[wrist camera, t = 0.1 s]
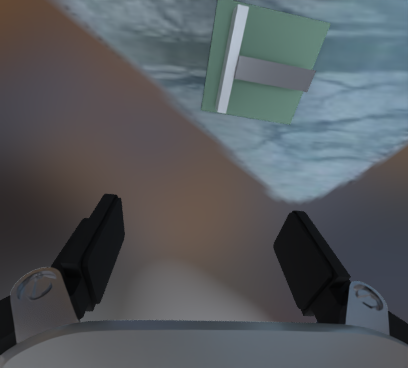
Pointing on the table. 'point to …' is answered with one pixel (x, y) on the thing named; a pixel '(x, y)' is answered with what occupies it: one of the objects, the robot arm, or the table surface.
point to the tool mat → (264, 50)
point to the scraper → (254, 66)
